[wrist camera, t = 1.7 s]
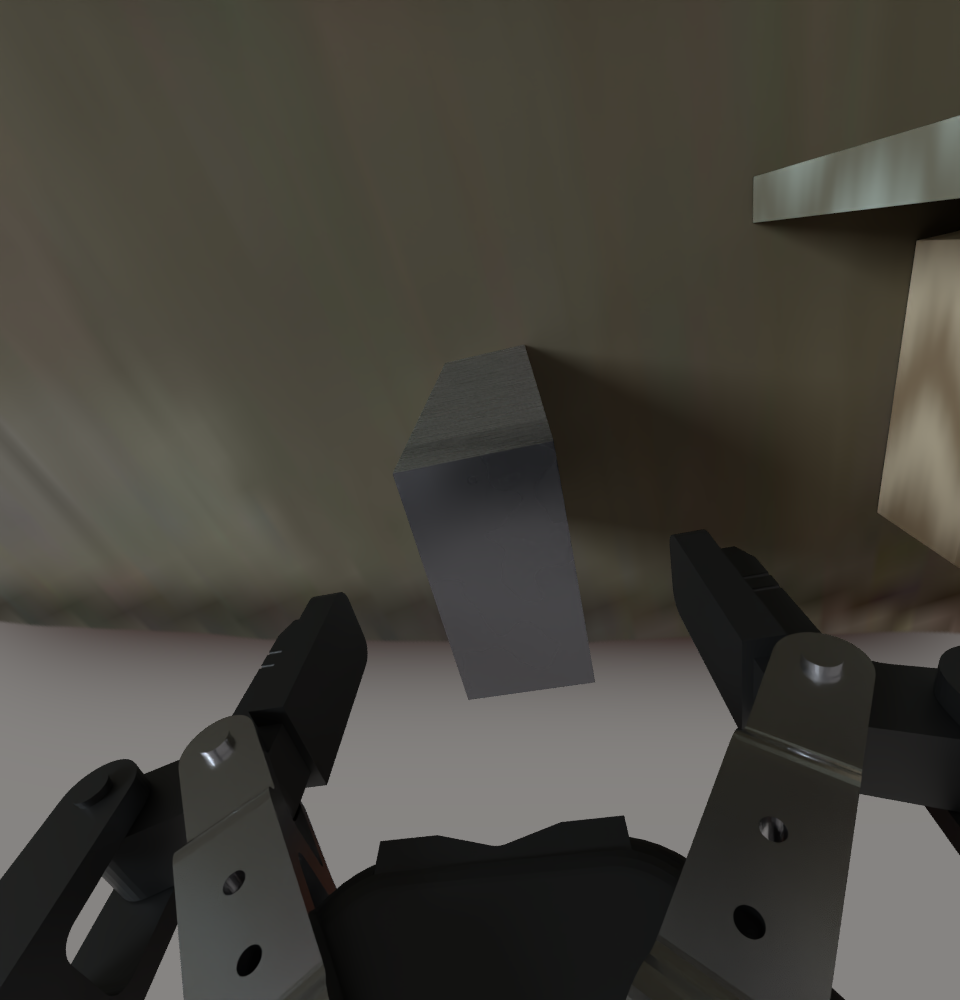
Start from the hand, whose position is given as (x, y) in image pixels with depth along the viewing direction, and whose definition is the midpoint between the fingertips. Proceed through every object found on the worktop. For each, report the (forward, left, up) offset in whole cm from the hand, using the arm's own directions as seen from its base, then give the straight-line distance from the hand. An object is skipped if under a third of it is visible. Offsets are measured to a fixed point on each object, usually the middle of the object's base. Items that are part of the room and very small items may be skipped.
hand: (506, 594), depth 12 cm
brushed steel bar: (0, 0, -12) cm, 12 cm away
